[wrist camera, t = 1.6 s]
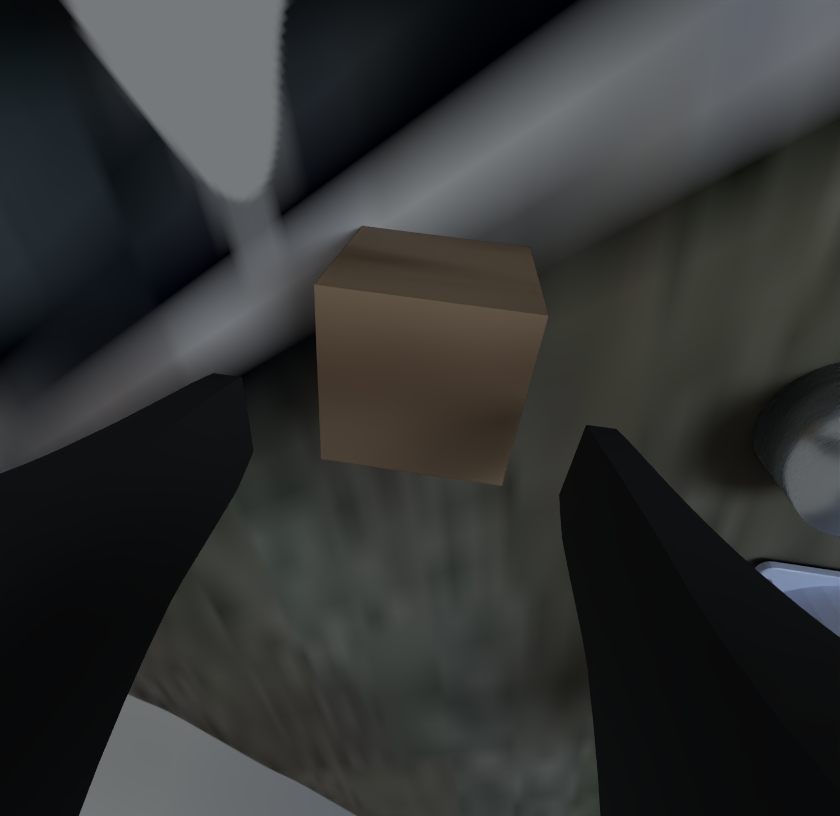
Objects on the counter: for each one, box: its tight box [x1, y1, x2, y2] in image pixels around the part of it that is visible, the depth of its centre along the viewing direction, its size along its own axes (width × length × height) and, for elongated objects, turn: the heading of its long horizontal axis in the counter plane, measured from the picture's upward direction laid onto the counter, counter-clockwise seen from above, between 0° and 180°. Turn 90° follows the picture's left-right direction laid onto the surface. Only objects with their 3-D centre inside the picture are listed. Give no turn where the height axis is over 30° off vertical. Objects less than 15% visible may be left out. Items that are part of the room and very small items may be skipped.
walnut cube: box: [314, 226, 548, 486], centre depth 13 cm, size 5×5×5 cm
